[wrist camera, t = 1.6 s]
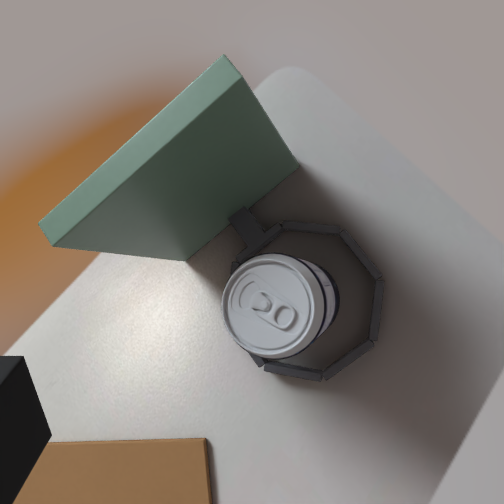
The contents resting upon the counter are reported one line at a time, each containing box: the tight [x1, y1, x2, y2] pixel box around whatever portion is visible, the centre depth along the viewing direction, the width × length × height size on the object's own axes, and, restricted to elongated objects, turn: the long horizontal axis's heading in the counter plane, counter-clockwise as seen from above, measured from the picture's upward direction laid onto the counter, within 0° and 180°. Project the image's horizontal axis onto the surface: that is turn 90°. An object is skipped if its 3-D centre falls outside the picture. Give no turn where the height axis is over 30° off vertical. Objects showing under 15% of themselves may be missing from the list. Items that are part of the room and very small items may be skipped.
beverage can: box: [221, 252, 340, 360], centre depth 29 cm, size 6×6×12 cm
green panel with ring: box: [38, 54, 384, 382], centre depth 27 cm, size 15×12×16 cm
